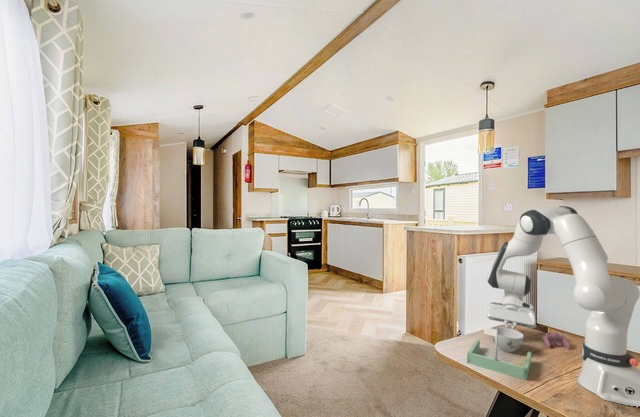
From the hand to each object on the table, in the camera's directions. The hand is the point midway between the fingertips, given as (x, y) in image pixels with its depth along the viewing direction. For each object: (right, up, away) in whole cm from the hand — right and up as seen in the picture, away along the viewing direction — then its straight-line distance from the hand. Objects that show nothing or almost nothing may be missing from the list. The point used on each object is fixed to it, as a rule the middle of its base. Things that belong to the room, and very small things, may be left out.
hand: (509, 331), depth 150 cm
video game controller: (+19, -5, -4) cm, 20 cm away
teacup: (-6, -5, -7) cm, 11 cm away
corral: (-16, -5, -20) cm, 26 cm away
